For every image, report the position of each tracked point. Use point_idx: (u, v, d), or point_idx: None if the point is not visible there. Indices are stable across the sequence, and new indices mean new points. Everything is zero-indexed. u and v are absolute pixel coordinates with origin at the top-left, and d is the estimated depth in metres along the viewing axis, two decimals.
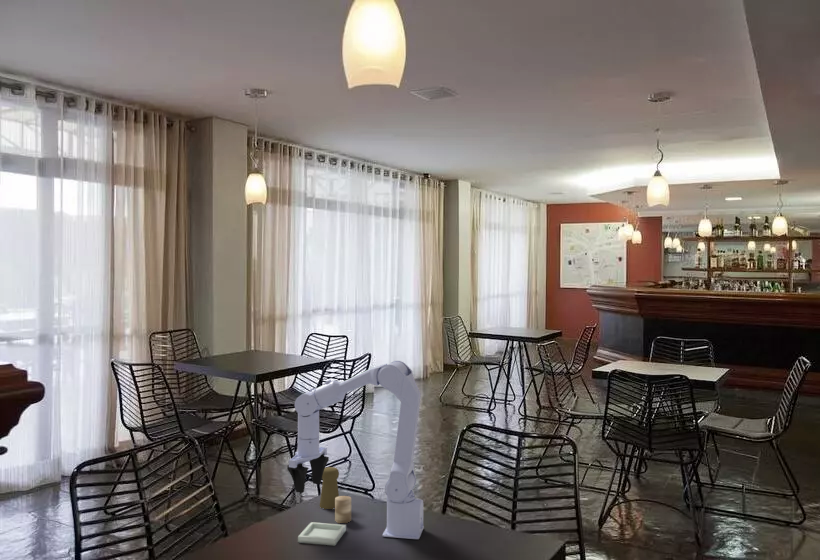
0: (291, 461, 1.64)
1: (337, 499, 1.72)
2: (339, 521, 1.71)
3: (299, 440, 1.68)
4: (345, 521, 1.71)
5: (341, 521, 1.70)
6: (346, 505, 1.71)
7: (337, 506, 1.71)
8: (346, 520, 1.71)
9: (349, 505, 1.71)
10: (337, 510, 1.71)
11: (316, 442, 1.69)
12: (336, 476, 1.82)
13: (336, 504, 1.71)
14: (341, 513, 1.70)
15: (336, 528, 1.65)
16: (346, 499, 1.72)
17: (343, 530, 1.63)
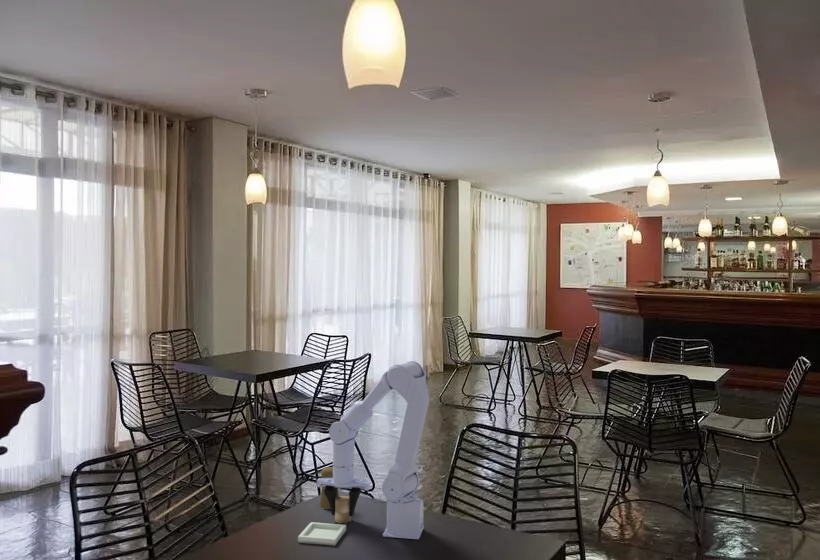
0: None
1: (337, 499, 1.72)
2: (339, 521, 1.71)
3: None
4: (345, 521, 1.71)
5: (341, 521, 1.70)
6: (346, 505, 1.71)
7: (337, 505, 1.71)
8: (346, 520, 1.71)
9: (349, 505, 1.71)
10: (337, 510, 1.71)
11: (339, 471, 1.70)
12: None
13: (336, 504, 1.71)
14: (341, 513, 1.70)
15: (336, 528, 1.65)
16: (346, 498, 1.72)
17: (343, 530, 1.63)
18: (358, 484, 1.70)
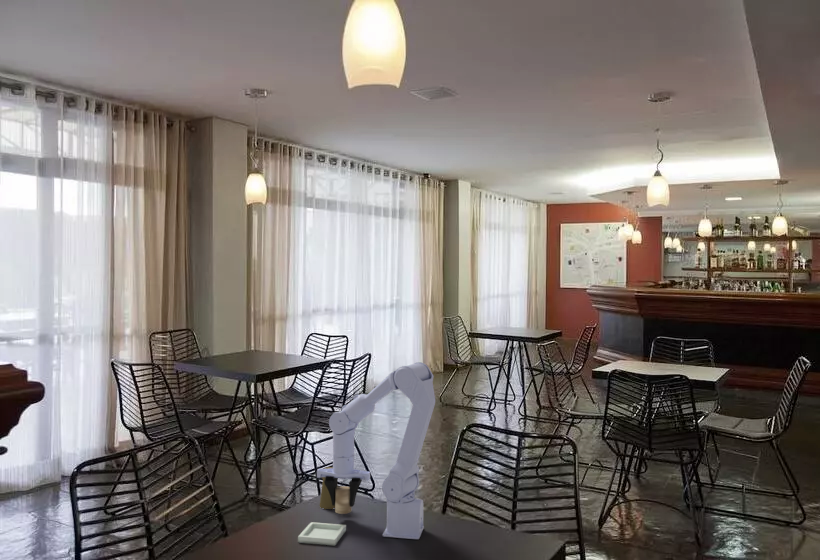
0: None
1: (337, 489, 1.72)
2: (339, 511, 1.70)
3: None
4: (345, 511, 1.71)
5: (341, 511, 1.70)
6: (346, 495, 1.71)
7: (337, 496, 1.71)
8: (346, 510, 1.71)
9: (349, 495, 1.71)
10: (337, 500, 1.71)
11: (339, 461, 1.70)
12: None
13: (336, 494, 1.71)
14: (341, 504, 1.70)
15: (336, 528, 1.65)
16: (346, 489, 1.72)
17: (343, 530, 1.63)
18: (358, 474, 1.70)
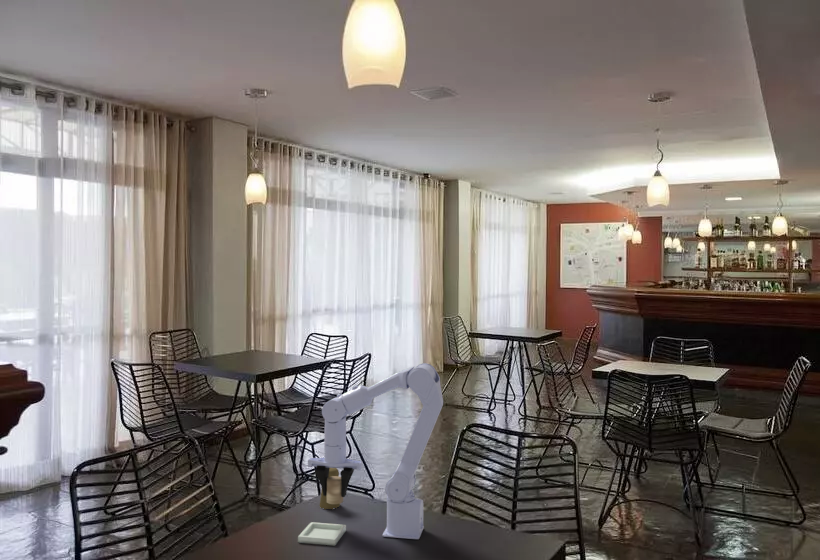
0: None
1: (329, 479, 1.67)
2: (330, 502, 1.66)
3: None
4: (337, 502, 1.66)
5: (332, 502, 1.66)
6: (337, 485, 1.66)
7: (328, 486, 1.66)
8: (338, 501, 1.66)
9: (341, 485, 1.67)
10: (329, 490, 1.67)
11: (331, 450, 1.65)
12: None
13: (327, 484, 1.67)
14: (332, 494, 1.66)
15: (336, 528, 1.65)
16: (338, 479, 1.68)
17: (343, 530, 1.63)
18: (350, 464, 1.66)
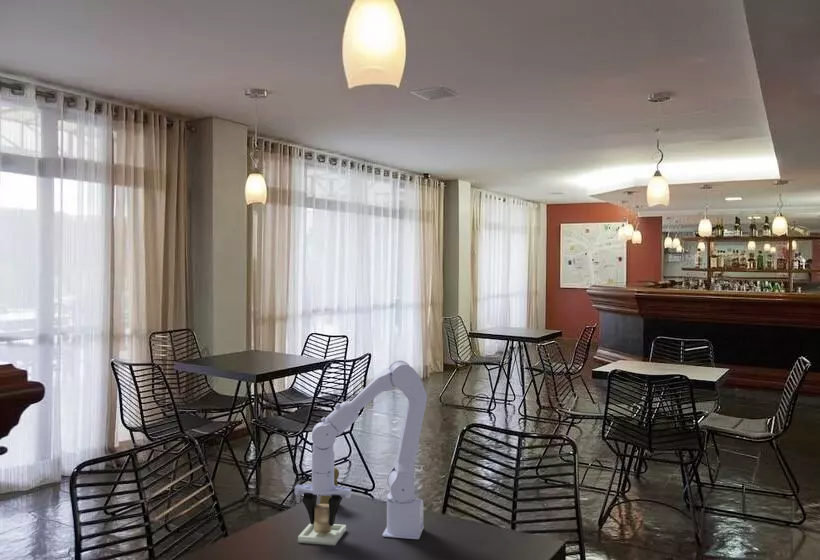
0: None
1: (316, 507, 1.61)
2: (318, 531, 1.60)
3: None
4: (324, 531, 1.60)
5: (320, 531, 1.60)
6: (325, 514, 1.60)
7: (316, 514, 1.60)
8: (326, 530, 1.60)
9: (329, 514, 1.61)
10: (316, 519, 1.60)
11: (318, 477, 1.59)
12: (336, 476, 1.82)
13: (315, 512, 1.61)
14: (320, 522, 1.60)
15: (336, 528, 1.65)
16: (326, 507, 1.62)
17: (343, 530, 1.63)
18: (338, 491, 1.59)
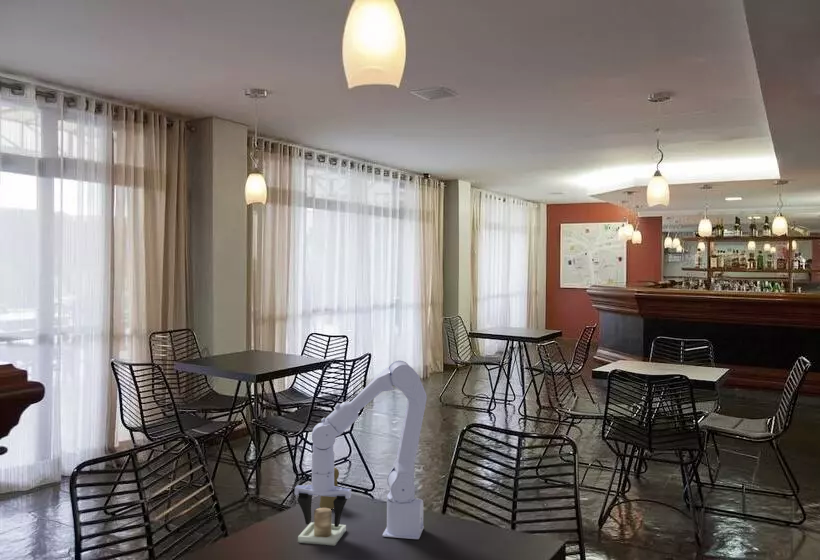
0: None
1: (316, 511, 1.61)
2: (318, 535, 1.60)
3: None
4: (324, 535, 1.60)
5: (320, 535, 1.60)
6: (325, 518, 1.60)
7: (316, 518, 1.60)
8: (326, 534, 1.60)
9: (329, 518, 1.61)
10: (316, 523, 1.60)
11: (318, 478, 1.59)
12: (336, 476, 1.82)
13: (315, 517, 1.60)
14: (320, 527, 1.60)
15: (336, 528, 1.65)
16: (325, 511, 1.61)
17: (343, 530, 1.63)
18: (338, 492, 1.59)
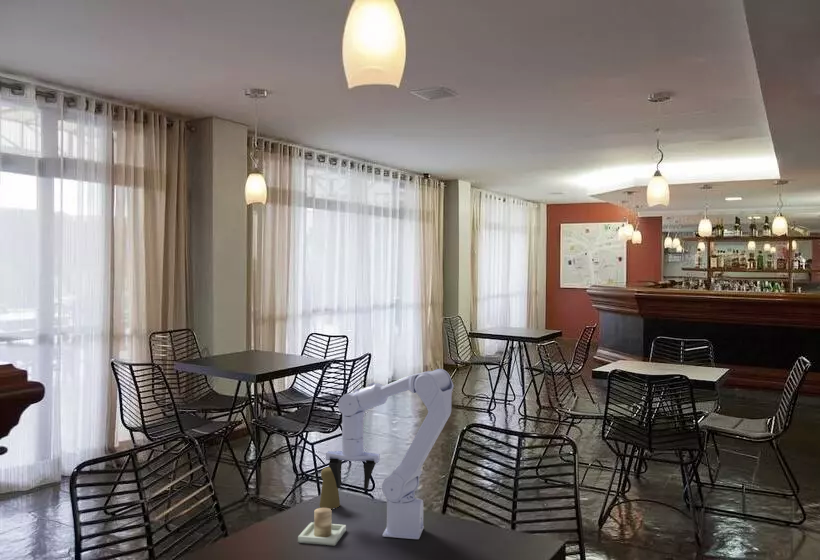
0: (327, 453, 1.73)
1: (316, 511, 1.61)
2: (318, 535, 1.60)
3: None
4: (325, 535, 1.60)
5: (320, 535, 1.60)
6: (325, 518, 1.60)
7: (316, 518, 1.60)
8: (326, 534, 1.60)
9: (329, 518, 1.61)
10: (316, 523, 1.60)
11: (349, 443, 1.69)
12: None
13: (315, 516, 1.60)
14: (320, 527, 1.60)
15: (336, 528, 1.65)
16: (326, 511, 1.61)
17: (343, 530, 1.63)
18: (368, 456, 1.69)
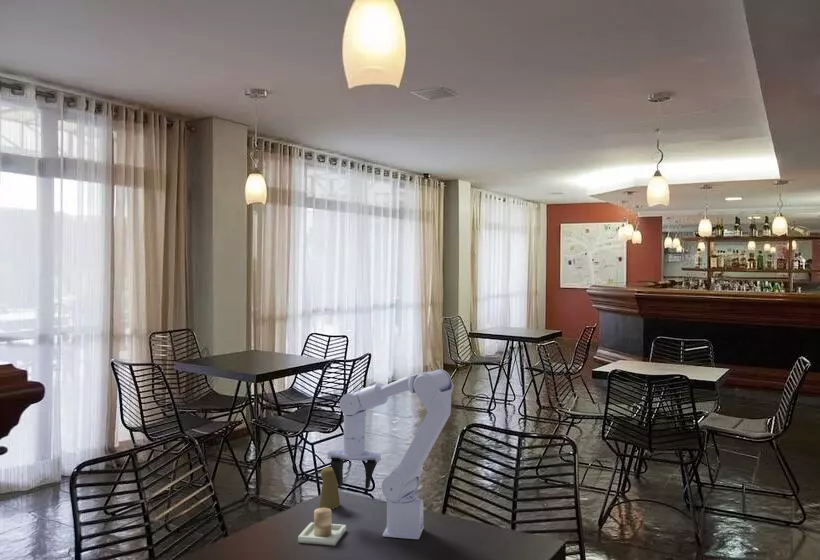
0: None
1: (316, 511, 1.61)
2: (318, 535, 1.60)
3: None
4: (325, 535, 1.60)
5: (320, 535, 1.60)
6: (325, 518, 1.60)
7: (316, 518, 1.60)
8: (326, 534, 1.60)
9: (329, 518, 1.61)
10: (316, 523, 1.60)
11: (350, 442, 1.69)
12: None
13: (315, 517, 1.60)
14: (320, 527, 1.60)
15: (336, 528, 1.65)
16: (325, 511, 1.61)
17: (343, 530, 1.63)
18: (369, 456, 1.70)
